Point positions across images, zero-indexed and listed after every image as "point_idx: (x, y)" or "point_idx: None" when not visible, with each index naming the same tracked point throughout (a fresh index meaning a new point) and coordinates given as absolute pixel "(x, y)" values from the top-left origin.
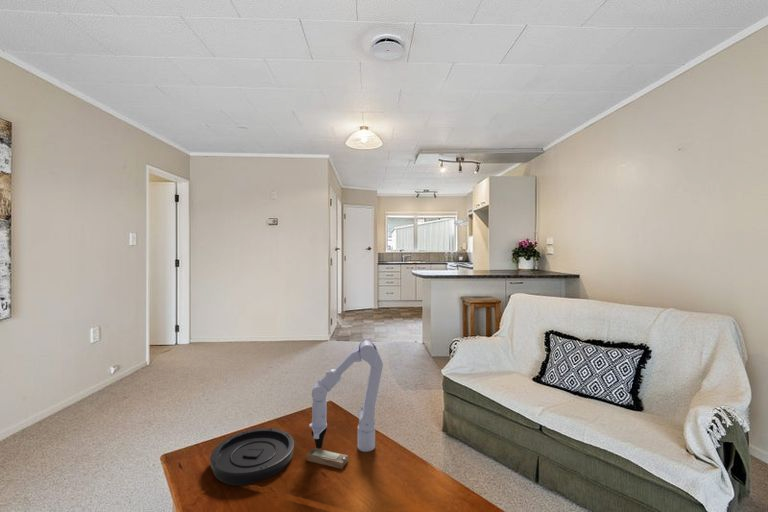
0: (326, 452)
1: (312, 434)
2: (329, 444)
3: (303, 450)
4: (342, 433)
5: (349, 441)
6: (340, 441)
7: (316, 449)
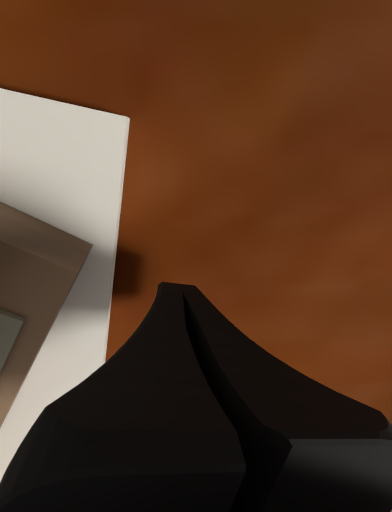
0: None
1: (26, 439)
2: None
3: (229, 123)
4: None
5: None
6: None
7: (31, 312)
